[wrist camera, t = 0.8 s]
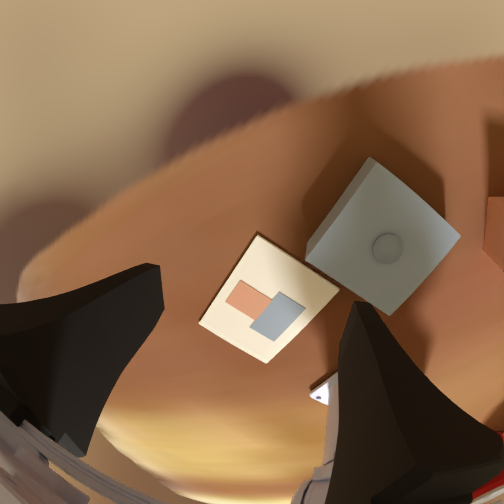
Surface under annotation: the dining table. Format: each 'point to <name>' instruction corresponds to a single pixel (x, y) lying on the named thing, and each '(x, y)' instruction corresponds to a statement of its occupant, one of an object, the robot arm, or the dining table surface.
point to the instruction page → (267, 301)
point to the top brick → (495, 230)
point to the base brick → (380, 239)
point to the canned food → (490, 487)
